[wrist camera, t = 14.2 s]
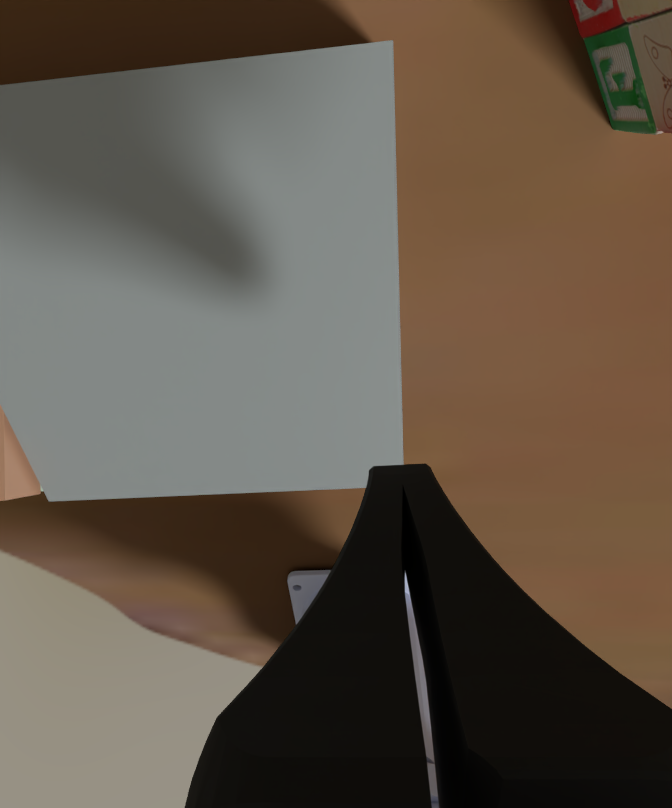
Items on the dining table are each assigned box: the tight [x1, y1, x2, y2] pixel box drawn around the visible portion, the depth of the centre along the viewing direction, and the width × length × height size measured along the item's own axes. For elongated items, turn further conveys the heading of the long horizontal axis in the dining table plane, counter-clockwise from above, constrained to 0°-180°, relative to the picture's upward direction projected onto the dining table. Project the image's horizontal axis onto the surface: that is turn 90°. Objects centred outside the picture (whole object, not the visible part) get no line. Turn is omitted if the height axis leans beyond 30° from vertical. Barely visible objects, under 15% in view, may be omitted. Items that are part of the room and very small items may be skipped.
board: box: [0, 40, 403, 502], centre depth 18 cm, size 14×15×4 cm
